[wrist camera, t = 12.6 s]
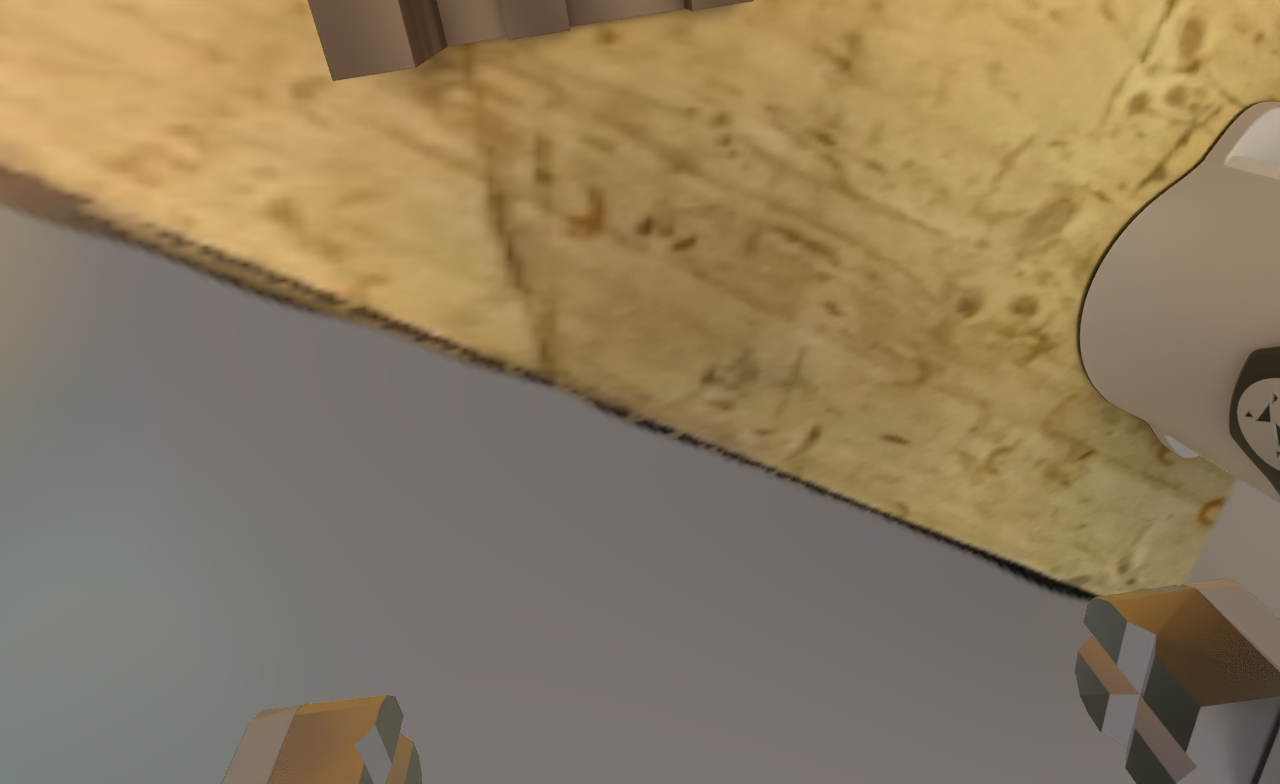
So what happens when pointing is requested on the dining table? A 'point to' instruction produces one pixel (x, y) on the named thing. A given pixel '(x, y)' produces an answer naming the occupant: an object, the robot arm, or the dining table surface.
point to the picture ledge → (454, 26)
